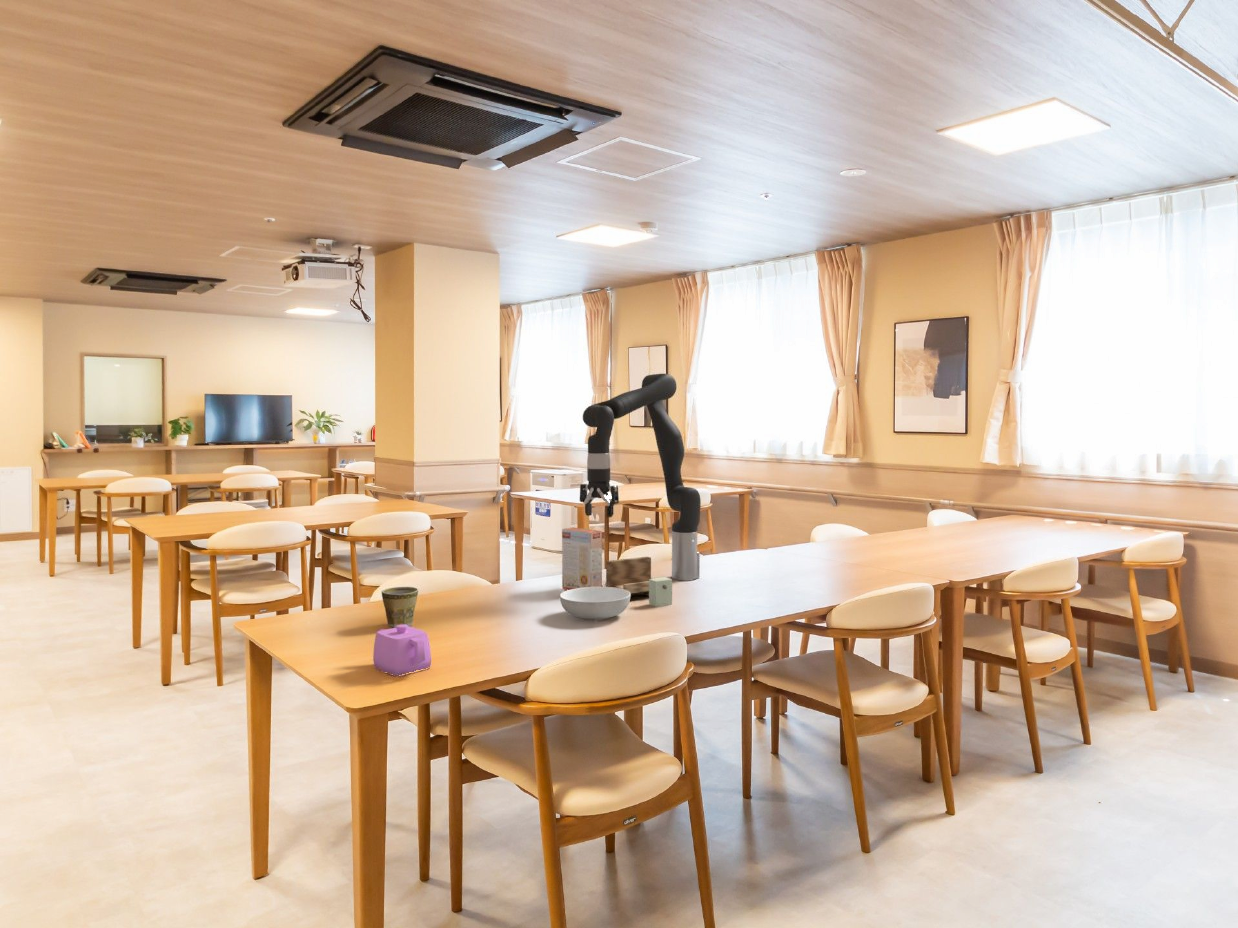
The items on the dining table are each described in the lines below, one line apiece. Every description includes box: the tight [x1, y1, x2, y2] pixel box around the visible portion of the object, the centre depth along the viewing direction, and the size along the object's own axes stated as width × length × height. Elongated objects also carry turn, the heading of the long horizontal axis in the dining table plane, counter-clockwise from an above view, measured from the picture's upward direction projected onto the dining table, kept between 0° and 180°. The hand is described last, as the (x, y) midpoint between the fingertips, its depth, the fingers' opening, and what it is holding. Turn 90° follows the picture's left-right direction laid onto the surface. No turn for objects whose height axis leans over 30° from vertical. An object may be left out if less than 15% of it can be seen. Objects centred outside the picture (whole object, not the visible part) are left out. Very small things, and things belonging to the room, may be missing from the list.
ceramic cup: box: [381, 586, 419, 628], centre depth 234 cm, size 13×10×10 cm
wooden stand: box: [605, 556, 652, 597], centre depth 268 cm, size 16×8×12 cm, turn 120°
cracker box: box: [561, 527, 603, 591], centre depth 278 cm, size 14×6×21 cm, turn 46°
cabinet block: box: [648, 576, 673, 608], centre depth 258 cm, size 6×5×8 cm
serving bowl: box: [559, 586, 632, 621], centre depth 243 cm, size 21×21×7 cm
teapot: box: [372, 625, 432, 677], centre depth 194 cm, size 18×10×10 cm, turn 45°
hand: (599, 516), depth 270 cm, fingers open, 8 cm apart
